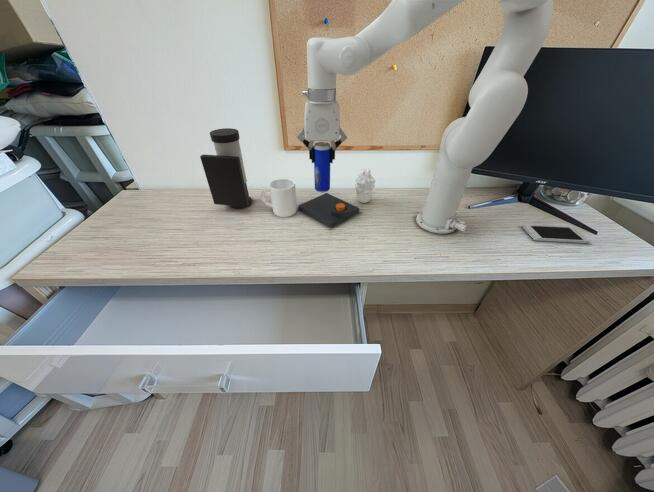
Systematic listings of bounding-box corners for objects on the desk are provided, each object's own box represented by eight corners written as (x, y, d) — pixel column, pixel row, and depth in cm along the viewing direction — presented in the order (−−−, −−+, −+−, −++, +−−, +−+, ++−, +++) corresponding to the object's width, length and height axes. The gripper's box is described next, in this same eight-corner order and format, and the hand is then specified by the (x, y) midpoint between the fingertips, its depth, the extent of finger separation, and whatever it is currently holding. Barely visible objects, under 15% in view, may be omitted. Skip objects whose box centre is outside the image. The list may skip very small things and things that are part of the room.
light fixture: (260, 199, 97) (248, 129, 81) (248, 214, 88) (232, 139, 73) (230, 196, 98) (212, 127, 83) (216, 211, 90) (193, 137, 74)
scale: (359, 213, 89) (360, 204, 87) (331, 229, 81) (332, 219, 79) (326, 197, 98) (326, 188, 96) (298, 210, 90) (297, 201, 88)
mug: (259, 216, 87) (254, 188, 81) (267, 204, 94) (262, 177, 87) (294, 218, 86) (291, 190, 80) (299, 206, 93) (297, 179, 86)
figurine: (363, 208, 92) (366, 176, 84) (349, 201, 96) (351, 170, 88) (375, 202, 96) (379, 170, 88) (361, 195, 99) (364, 165, 92)
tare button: (346, 209, 85) (346, 205, 84) (340, 212, 83) (340, 208, 82) (340, 206, 87) (340, 202, 86) (333, 209, 85) (334, 205, 84)
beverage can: (313, 187, 88) (311, 142, 79) (327, 185, 90) (327, 141, 80) (317, 194, 85) (316, 147, 75) (331, 191, 86) (332, 146, 76)
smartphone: (521, 227, 83) (523, 224, 82) (572, 229, 82) (573, 227, 81) (534, 240, 77) (535, 238, 77) (588, 243, 76) (590, 240, 76)
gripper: (289, 97, 67) (294, 165, 78) (354, 98, 67) (350, 166, 78) (292, 93, 73) (296, 157, 84) (352, 94, 73) (348, 157, 84)
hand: (322, 161), depth 81 cm, fingers closed on beverage can, 5 cm apart
